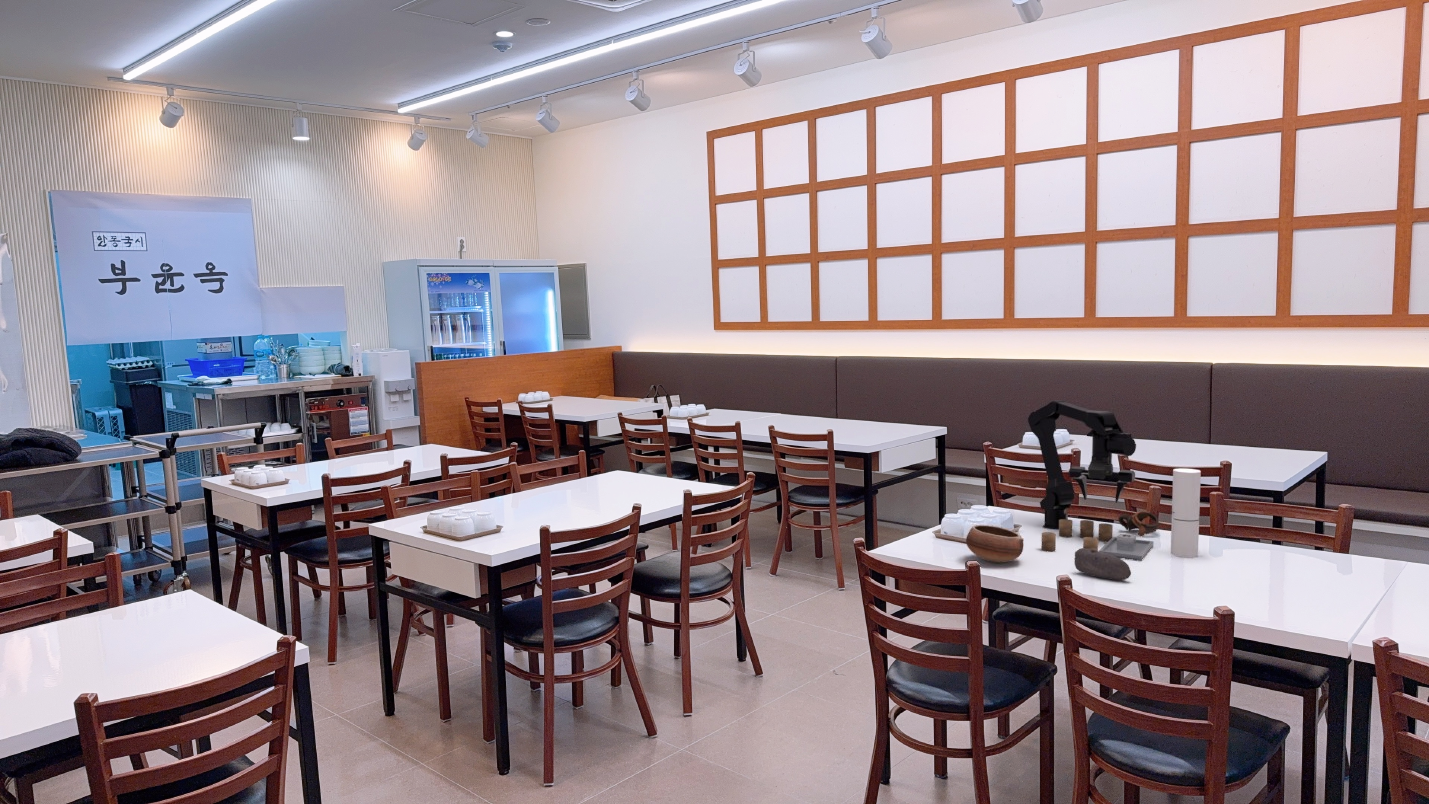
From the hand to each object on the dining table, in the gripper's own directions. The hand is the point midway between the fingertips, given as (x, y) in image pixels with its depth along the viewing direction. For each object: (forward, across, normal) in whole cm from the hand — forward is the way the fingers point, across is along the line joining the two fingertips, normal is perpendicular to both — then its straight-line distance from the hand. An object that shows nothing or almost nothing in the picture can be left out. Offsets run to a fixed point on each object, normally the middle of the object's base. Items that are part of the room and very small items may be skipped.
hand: (1100, 501), depth 291 cm
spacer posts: (+12, -4, -12) cm, 17 cm away
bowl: (+12, -20, -43) cm, 49 cm away
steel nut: (+11, +10, -12) cm, 19 cm away
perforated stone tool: (+12, +10, -44) cm, 47 cm away
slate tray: (+12, +10, -12) cm, 20 cm away
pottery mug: (+12, +9, +13) cm, 20 cm away
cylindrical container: (+12, +25, -8) cm, 29 cm away
